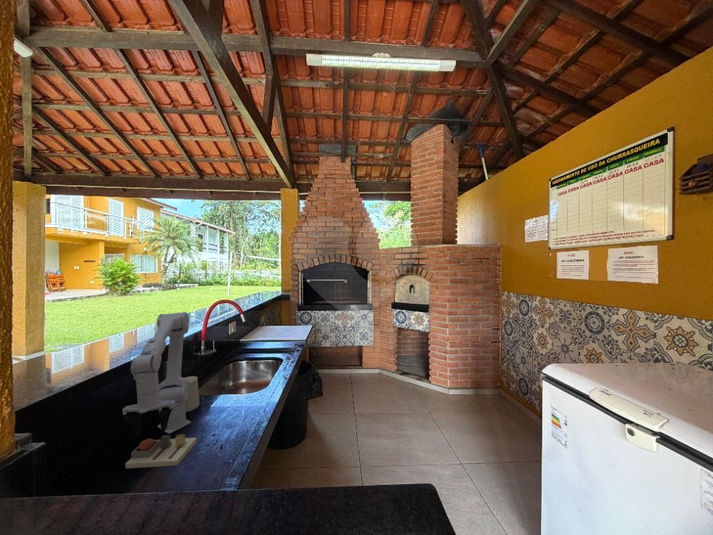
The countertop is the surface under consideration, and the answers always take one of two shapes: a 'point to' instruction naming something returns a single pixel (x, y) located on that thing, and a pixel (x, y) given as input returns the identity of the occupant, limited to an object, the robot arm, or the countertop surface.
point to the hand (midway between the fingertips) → (151, 432)
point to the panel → (160, 454)
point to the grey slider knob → (165, 441)
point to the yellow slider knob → (180, 440)
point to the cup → (192, 394)
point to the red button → (146, 444)
